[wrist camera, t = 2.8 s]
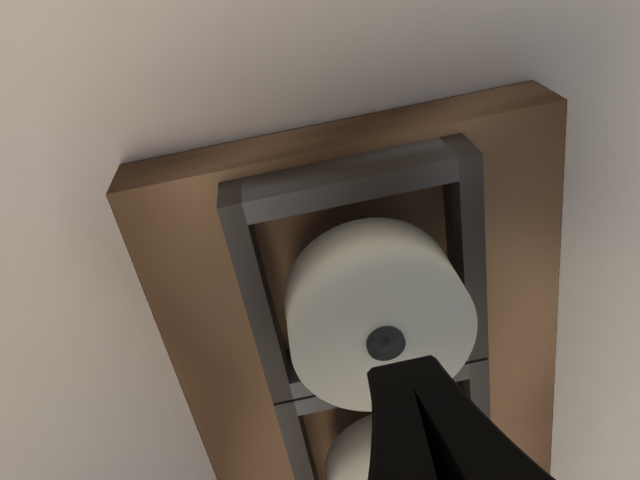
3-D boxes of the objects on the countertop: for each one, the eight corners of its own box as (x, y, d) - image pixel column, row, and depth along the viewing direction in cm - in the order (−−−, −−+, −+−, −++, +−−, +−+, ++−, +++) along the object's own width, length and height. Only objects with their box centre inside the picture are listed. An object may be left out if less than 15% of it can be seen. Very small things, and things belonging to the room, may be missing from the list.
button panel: (268, 570, 26) (272, 655, 23) (119, 165, 16) (93, 221, 13) (526, 512, 27) (563, 589, 24) (533, 80, 17) (598, 117, 14)
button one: (300, 372, 16) (309, 432, 14) (267, 237, 14) (272, 287, 12) (454, 339, 16) (482, 394, 15) (445, 201, 14) (477, 244, 12)
